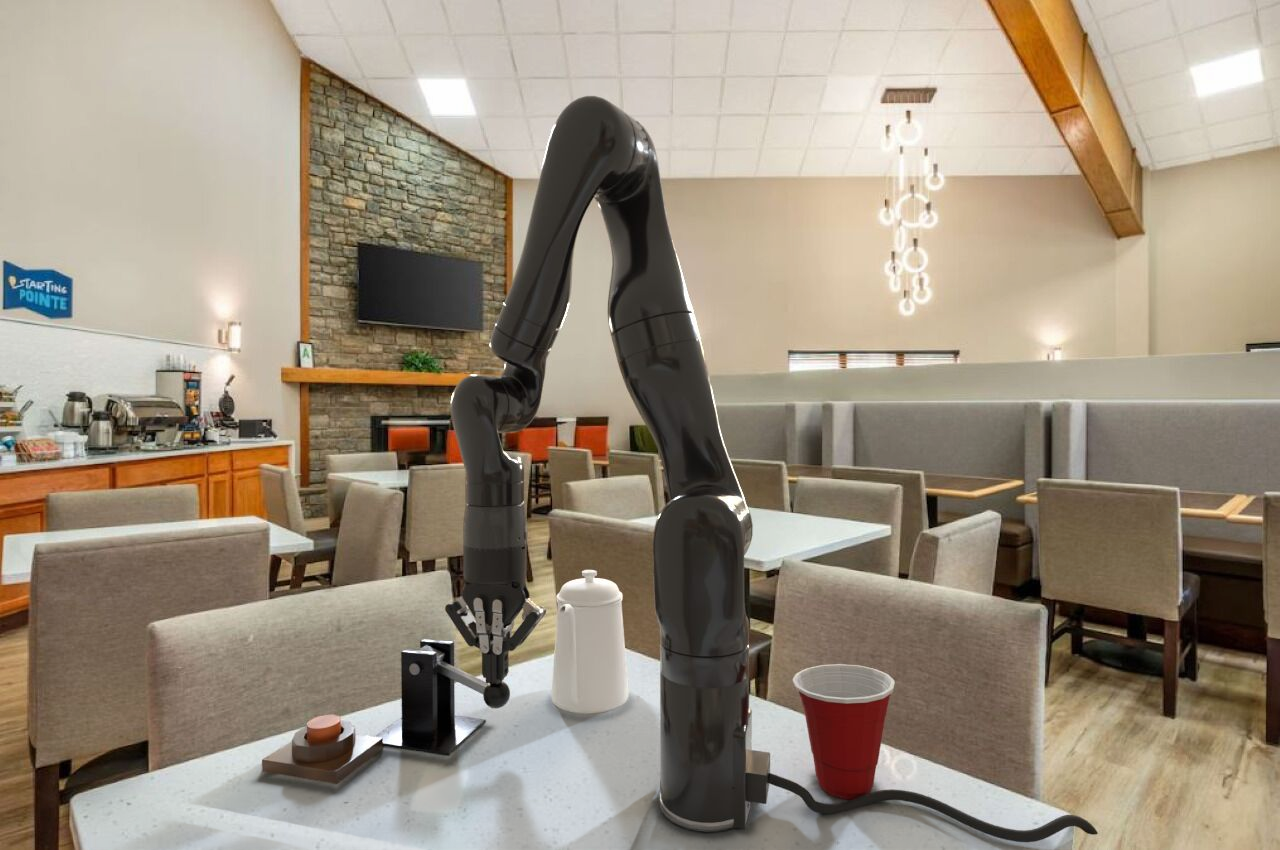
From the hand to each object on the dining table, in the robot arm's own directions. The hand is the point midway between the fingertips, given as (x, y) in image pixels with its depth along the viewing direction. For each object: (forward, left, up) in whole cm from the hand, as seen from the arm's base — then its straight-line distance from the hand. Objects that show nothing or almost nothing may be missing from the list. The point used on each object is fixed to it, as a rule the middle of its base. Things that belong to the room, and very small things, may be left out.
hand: (495, 681), depth 82 cm
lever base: (+9, 0, -8) cm, 13 cm away
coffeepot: (-7, -15, -9) cm, 18 cm away
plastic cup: (-41, -3, -9) cm, 42 cm away
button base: (+17, +9, -8) cm, 21 cm away
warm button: (+17, +9, -5) cm, 20 cm away
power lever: (+5, 0, -2) cm, 5 cm away
